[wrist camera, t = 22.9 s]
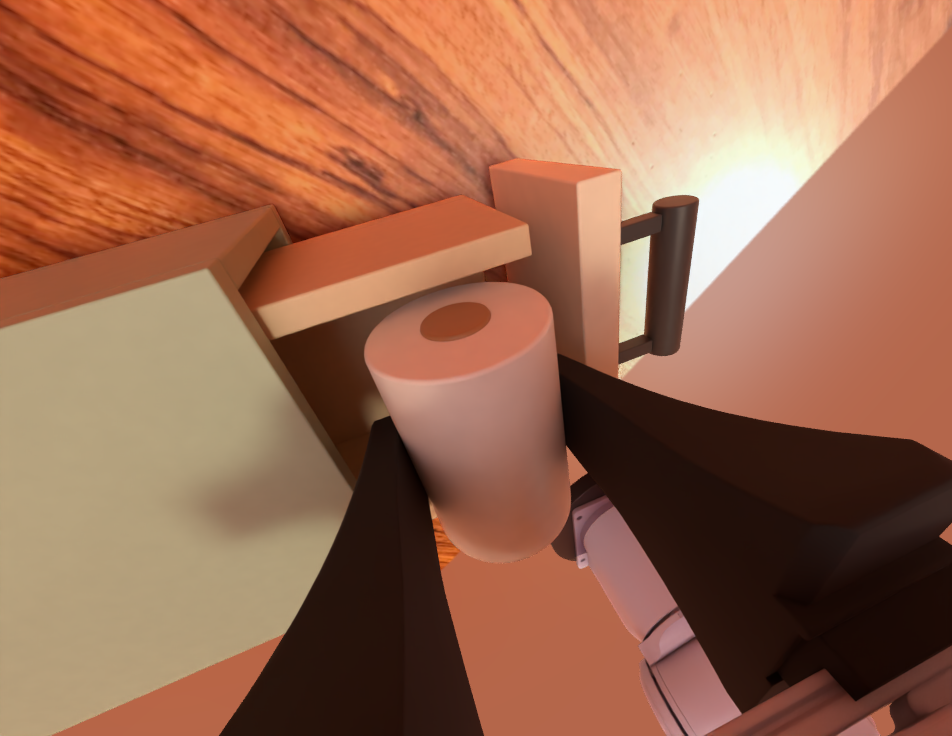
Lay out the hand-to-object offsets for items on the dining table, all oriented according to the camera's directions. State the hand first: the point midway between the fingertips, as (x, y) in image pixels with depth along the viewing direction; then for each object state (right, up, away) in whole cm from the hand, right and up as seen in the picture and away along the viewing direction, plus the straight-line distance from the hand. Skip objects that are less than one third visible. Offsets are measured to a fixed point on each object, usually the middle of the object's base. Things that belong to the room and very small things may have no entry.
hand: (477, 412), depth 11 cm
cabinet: (-12, 0, +5) cm, 13 cm away
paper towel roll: (-1, -1, -1) cm, 2 cm away
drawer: (-1, +4, +5) cm, 7 cm away
